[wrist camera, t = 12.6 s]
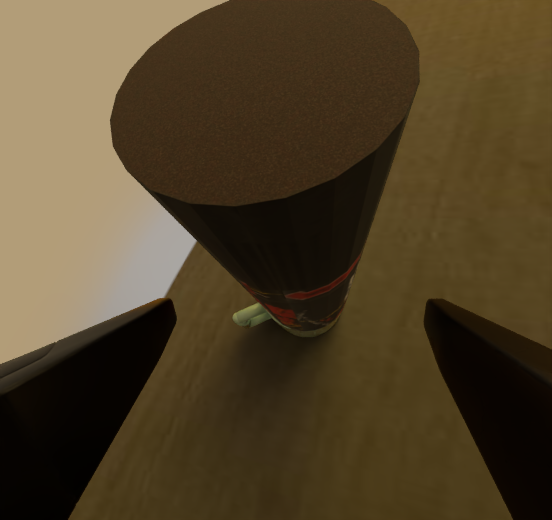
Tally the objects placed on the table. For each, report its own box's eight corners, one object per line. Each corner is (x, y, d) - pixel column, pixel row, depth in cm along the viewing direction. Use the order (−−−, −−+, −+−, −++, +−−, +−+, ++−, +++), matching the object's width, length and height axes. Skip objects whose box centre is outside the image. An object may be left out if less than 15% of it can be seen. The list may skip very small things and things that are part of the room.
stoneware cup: (322, 257, 24) (322, 234, 20) (355, 319, 22) (363, 308, 18) (235, 295, 24) (217, 280, 20) (257, 362, 22) (242, 360, 18)
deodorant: (266, 251, 20) (148, 13, 7) (345, 250, 19) (398, -37, 6) (261, 330, 18) (67, 215, 4) (349, 333, 17) (453, 194, 3)
